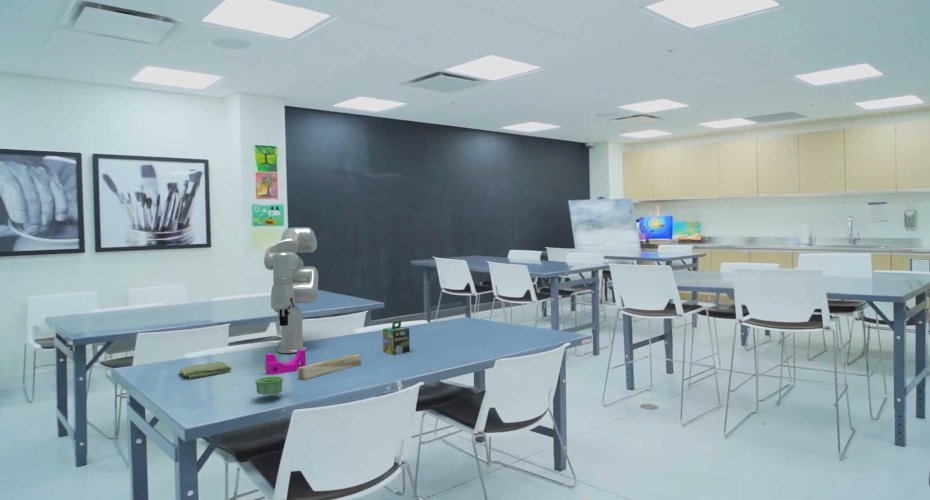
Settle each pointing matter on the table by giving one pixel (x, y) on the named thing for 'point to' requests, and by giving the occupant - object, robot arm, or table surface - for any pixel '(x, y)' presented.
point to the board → (328, 366)
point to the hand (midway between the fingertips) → (283, 325)
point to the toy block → (279, 367)
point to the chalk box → (396, 339)
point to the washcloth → (205, 369)
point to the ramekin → (269, 385)
